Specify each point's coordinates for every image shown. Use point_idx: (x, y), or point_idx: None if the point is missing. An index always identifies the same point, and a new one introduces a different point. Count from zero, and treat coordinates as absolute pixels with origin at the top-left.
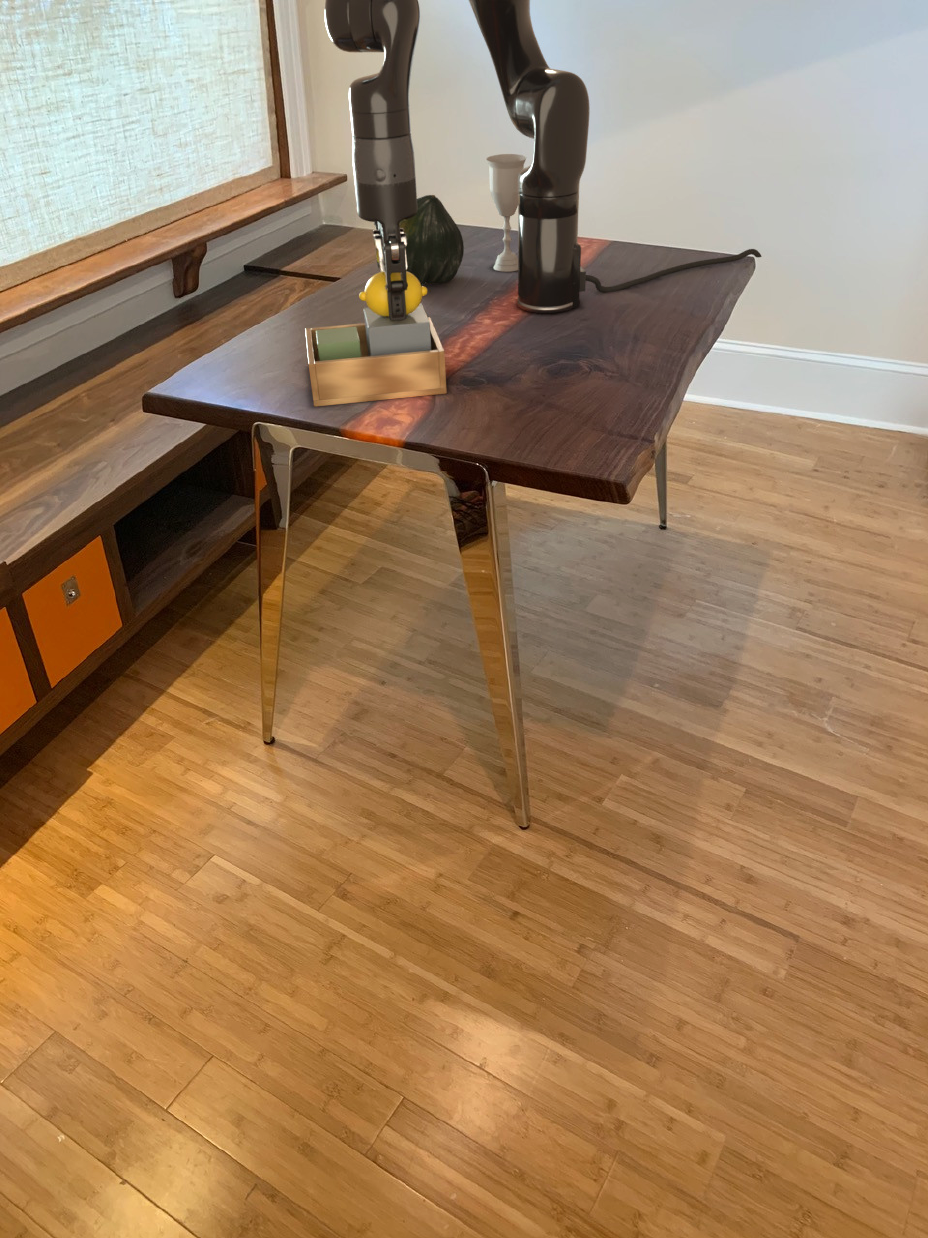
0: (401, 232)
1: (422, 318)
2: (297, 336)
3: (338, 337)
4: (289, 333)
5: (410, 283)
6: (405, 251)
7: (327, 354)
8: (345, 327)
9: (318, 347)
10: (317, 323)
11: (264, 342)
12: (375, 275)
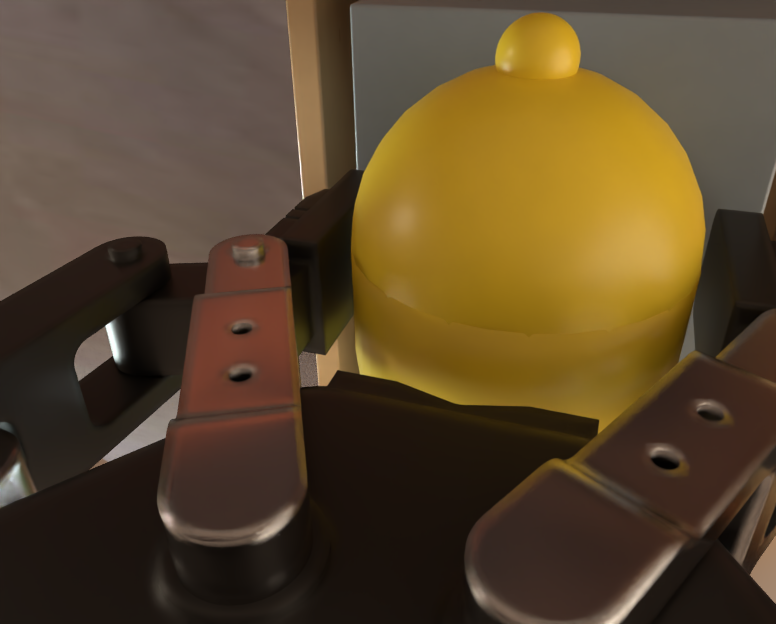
0: (291, 546)
1: (698, 62)
2: (112, 355)
3: None
4: (89, 369)
5: (650, 233)
6: (721, 501)
7: None
8: (339, 352)
9: None
10: (7, 282)
11: (154, 439)
12: None
